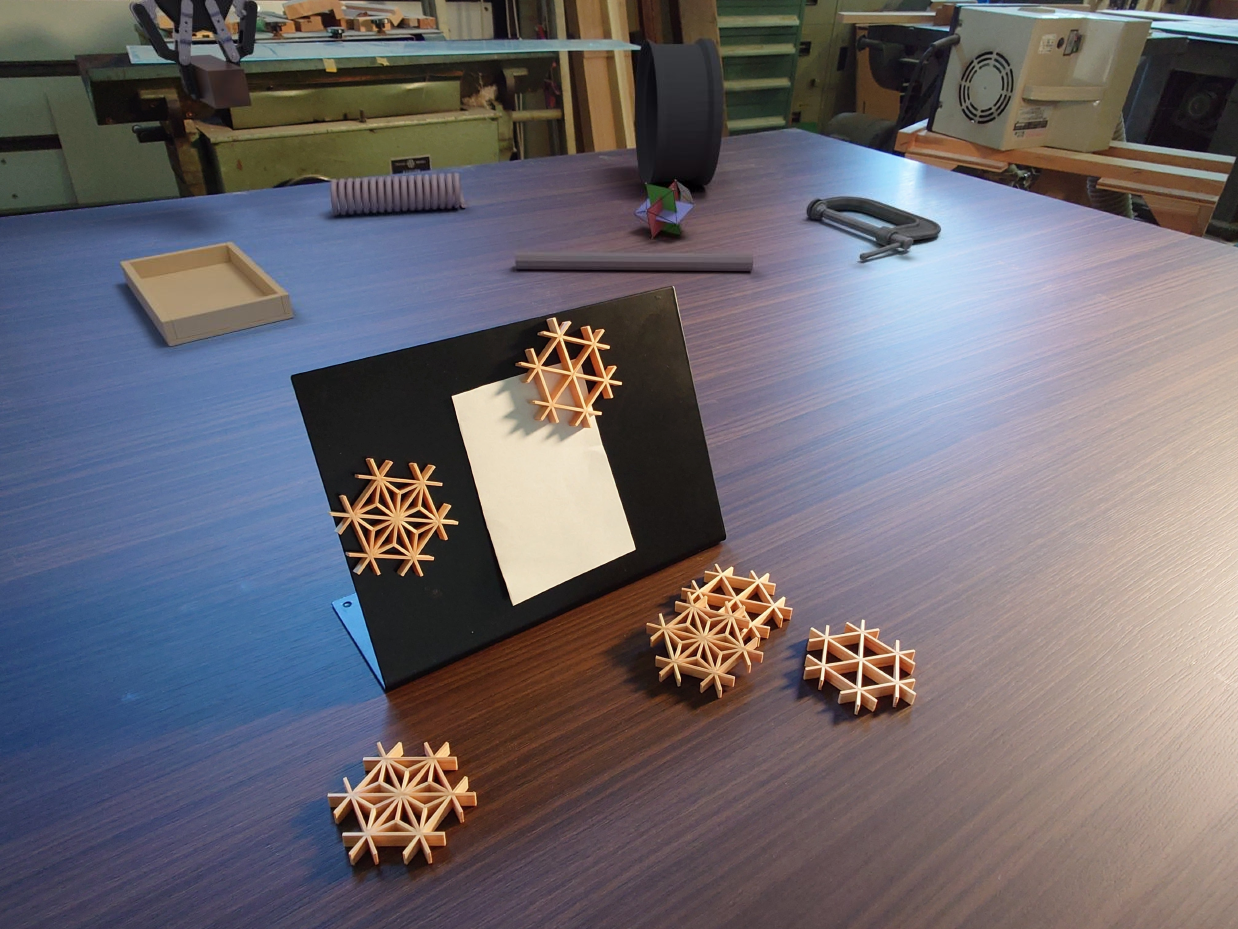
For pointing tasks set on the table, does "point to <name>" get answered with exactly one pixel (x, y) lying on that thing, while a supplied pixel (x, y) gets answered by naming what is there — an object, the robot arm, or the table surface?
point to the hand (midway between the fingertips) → (216, 95)
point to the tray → (205, 292)
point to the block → (221, 82)
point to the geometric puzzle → (665, 208)
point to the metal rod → (634, 261)
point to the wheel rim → (678, 111)
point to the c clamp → (890, 237)
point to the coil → (396, 193)
